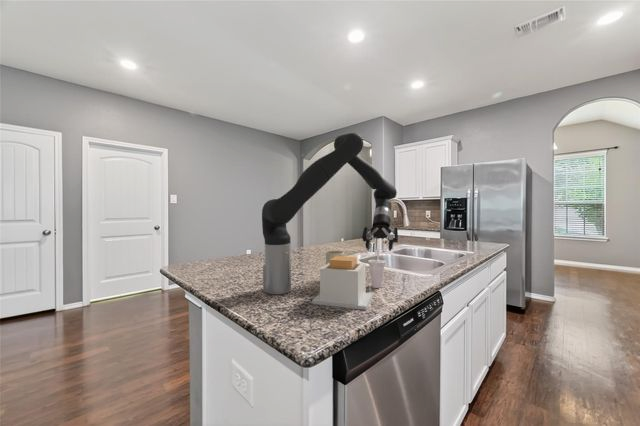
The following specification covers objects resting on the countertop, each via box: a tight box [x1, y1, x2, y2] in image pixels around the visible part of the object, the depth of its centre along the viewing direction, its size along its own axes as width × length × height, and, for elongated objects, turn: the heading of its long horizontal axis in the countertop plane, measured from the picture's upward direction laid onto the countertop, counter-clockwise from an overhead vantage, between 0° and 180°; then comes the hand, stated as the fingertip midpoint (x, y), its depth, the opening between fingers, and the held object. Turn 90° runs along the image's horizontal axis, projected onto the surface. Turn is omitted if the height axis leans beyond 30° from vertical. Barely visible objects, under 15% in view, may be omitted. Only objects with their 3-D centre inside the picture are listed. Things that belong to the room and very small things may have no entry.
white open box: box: [311, 262, 374, 311], centre depth 89 cm, size 17×13×11 cm
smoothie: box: [367, 248, 386, 289], centre depth 103 cm, size 6×6×14 cm
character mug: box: [325, 250, 345, 265], centre depth 104 cm, size 11×7×13 cm, turn 13°
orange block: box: [329, 255, 358, 270], centre depth 89 cm, size 7×7×8 cm
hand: (378, 249), depth 109 cm, fingers open, 8 cm apart
